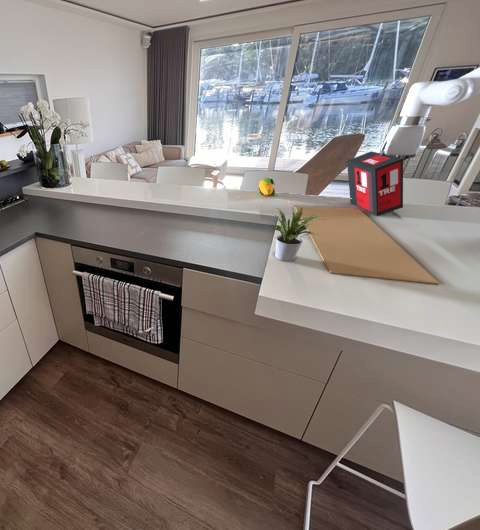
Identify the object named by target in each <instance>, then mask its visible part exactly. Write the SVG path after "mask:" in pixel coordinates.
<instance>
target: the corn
mask: <svg viewBox="0 0 480 530" xmlns="http://www.w3.org/2000/svg"><path fill="white" fill-rule="evenodd" d="M274 186H276V182H275V180H274V179H272V178H270V177H262V180H260V181H259V183H258V191H259V193H260V195H262V196H270V197H272V198H273V197H274V196H275V194H276V190H275V188H274Z"/></svg>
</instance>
